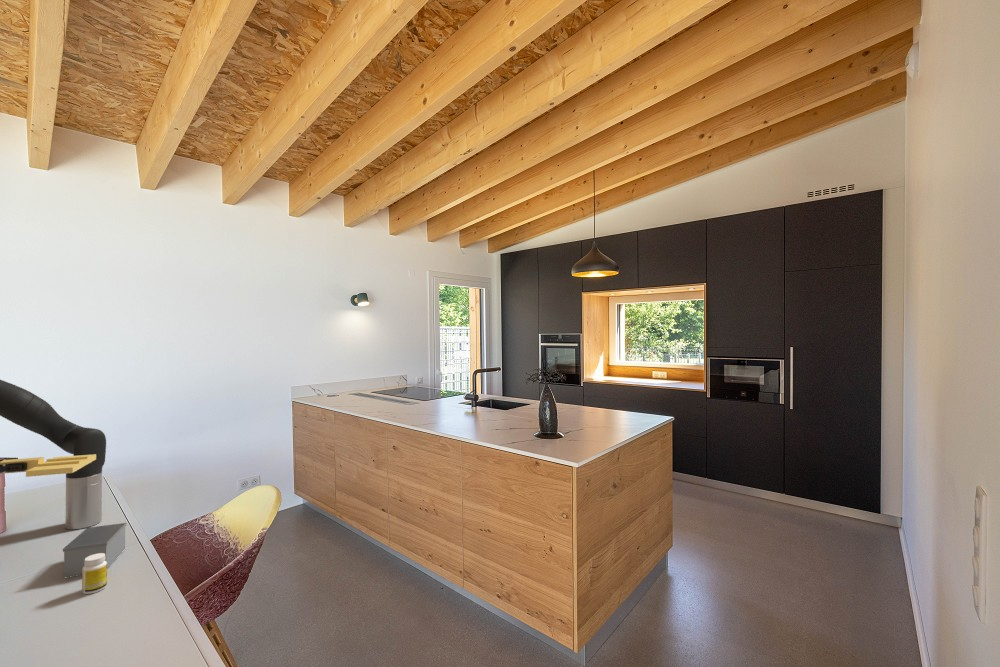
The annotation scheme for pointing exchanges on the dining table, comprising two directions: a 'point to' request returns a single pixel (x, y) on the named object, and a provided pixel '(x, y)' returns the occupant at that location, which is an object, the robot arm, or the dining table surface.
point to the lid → (53, 464)
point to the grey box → (94, 547)
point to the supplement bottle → (94, 573)
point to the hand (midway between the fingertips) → (29, 464)
